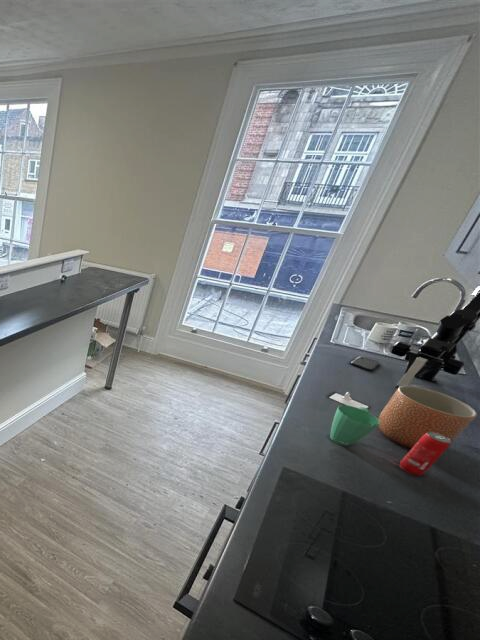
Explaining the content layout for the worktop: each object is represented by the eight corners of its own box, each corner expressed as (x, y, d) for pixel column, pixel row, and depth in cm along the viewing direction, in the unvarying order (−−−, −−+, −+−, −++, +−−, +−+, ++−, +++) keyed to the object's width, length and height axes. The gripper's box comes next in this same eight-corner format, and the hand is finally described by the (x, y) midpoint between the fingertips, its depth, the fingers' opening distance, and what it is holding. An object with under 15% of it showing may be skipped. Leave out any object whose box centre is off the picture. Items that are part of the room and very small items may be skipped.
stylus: (397, 386, 154) (419, 356, 147) (405, 389, 152) (428, 359, 145) (395, 387, 153) (417, 358, 146) (403, 390, 151) (425, 361, 144)
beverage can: (392, 463, 116) (420, 431, 109) (408, 463, 116) (436, 431, 110) (411, 476, 111) (441, 443, 105) (427, 476, 112) (457, 443, 106)
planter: (438, 441, 127) (473, 402, 120) (442, 466, 116) (481, 424, 109) (370, 417, 137) (398, 379, 129) (367, 438, 126) (398, 398, 118)
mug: (355, 455, 118) (375, 428, 112) (316, 437, 124) (334, 411, 119) (367, 438, 126) (387, 413, 120) (330, 422, 132) (347, 397, 127)
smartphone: (350, 362, 174) (360, 355, 182) (349, 363, 174) (359, 356, 182) (371, 369, 169) (381, 362, 177) (370, 371, 169) (380, 363, 177)
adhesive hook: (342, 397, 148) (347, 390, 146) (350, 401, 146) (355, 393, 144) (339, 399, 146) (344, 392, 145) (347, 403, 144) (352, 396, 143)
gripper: (411, 321, 149) (382, 352, 149) (483, 341, 136) (450, 376, 136) (405, 337, 157) (377, 367, 157) (472, 358, 143) (441, 390, 144)
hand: (410, 374), depth 148 cm, fingers closed on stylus, 2 cm apart
